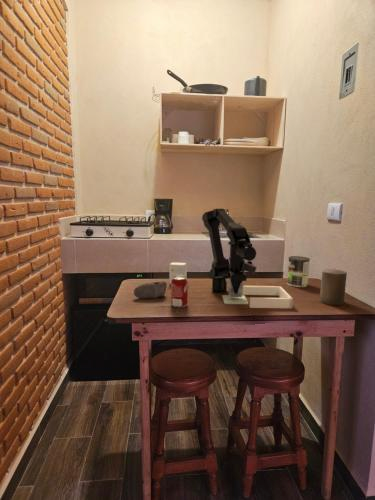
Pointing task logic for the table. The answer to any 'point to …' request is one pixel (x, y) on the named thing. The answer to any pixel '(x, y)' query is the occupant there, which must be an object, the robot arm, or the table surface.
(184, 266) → the small box
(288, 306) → the open-sided box
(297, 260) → the clear lidded jar
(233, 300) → the sage pad
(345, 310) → the table surface
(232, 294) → the slate block
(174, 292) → the soda can
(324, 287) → the pillar candle
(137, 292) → the perforated stone tool
